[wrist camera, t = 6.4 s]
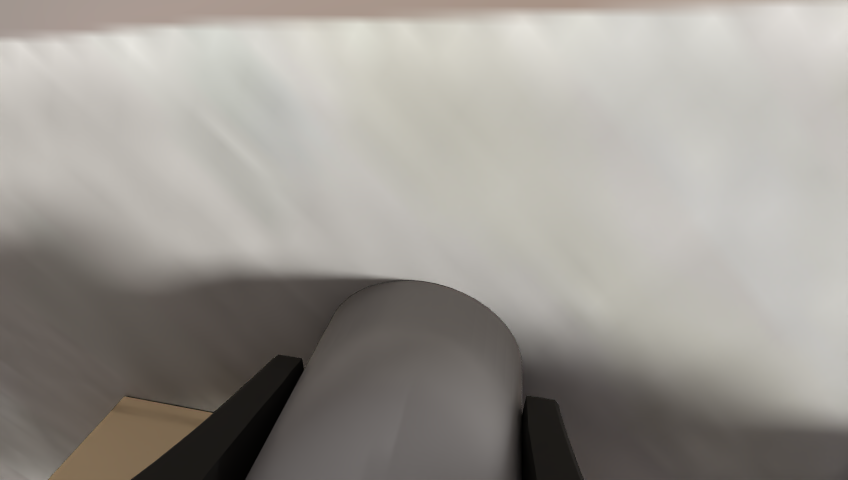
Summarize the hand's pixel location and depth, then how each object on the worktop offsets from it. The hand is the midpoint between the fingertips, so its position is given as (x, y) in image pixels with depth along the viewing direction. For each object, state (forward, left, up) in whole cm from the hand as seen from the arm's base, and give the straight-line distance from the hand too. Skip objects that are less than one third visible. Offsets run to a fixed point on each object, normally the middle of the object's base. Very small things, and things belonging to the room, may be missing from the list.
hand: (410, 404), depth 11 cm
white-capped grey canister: (0, 0, -1) cm, 1 cm away
